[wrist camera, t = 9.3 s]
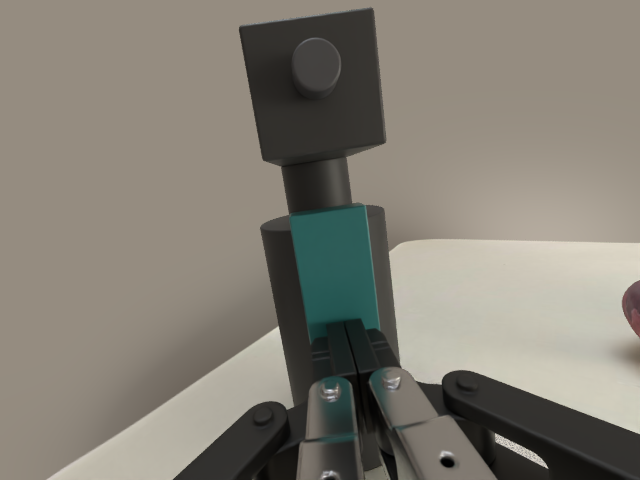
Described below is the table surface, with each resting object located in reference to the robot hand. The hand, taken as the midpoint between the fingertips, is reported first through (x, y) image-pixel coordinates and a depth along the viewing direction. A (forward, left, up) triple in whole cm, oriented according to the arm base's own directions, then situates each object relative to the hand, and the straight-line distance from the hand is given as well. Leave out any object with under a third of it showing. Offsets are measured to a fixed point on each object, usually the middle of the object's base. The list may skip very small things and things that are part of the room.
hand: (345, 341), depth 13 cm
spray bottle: (+1, +2, -9) cm, 10 cm away
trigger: (0, 0, -1) cm, 2 cm away
